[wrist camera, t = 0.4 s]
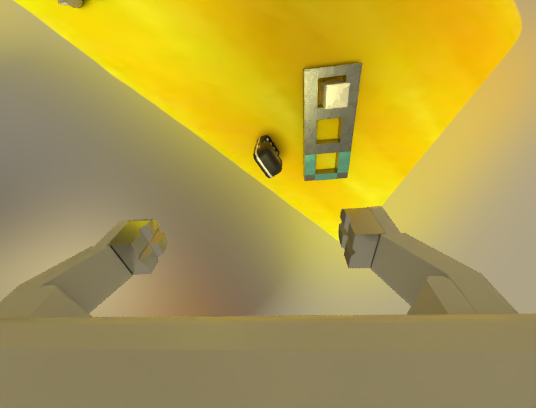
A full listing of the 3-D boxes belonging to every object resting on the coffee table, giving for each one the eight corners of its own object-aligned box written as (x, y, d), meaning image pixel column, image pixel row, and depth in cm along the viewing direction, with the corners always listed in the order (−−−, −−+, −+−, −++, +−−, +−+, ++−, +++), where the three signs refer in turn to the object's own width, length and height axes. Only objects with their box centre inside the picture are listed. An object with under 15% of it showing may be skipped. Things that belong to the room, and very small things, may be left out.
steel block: (319, 81, 44) (327, 85, 37) (339, 78, 43) (349, 82, 37) (319, 101, 46) (325, 109, 40) (337, 99, 46) (347, 106, 39)
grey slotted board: (303, 69, 43) (304, 69, 40) (358, 62, 42) (362, 62, 39) (303, 176, 57) (304, 181, 55) (344, 173, 56) (347, 178, 54)
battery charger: (283, 153, 53) (284, 173, 44) (271, 160, 55) (269, 182, 45) (269, 130, 50) (266, 146, 41) (256, 138, 51) (251, 156, 42)
